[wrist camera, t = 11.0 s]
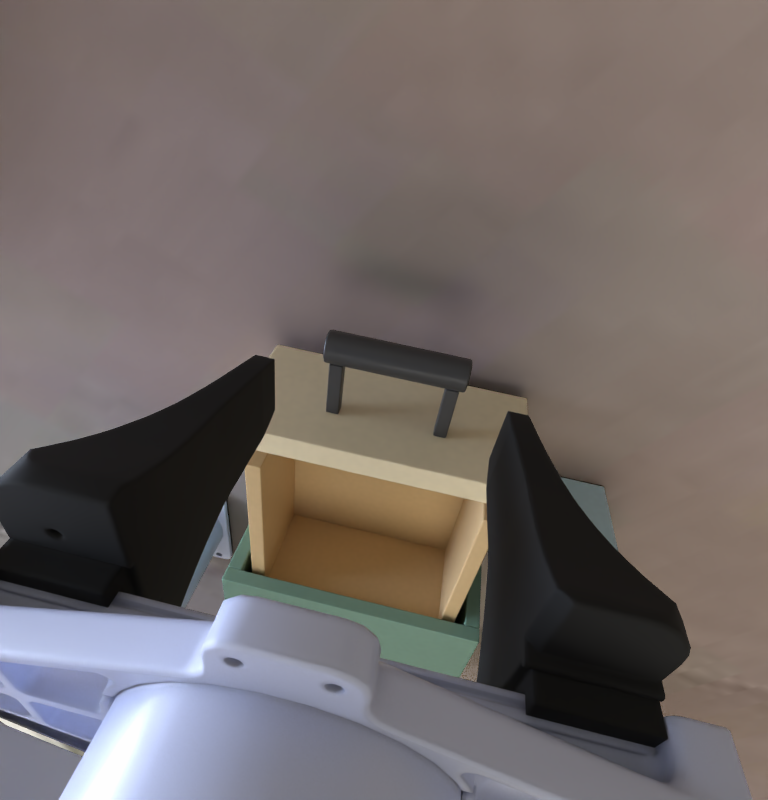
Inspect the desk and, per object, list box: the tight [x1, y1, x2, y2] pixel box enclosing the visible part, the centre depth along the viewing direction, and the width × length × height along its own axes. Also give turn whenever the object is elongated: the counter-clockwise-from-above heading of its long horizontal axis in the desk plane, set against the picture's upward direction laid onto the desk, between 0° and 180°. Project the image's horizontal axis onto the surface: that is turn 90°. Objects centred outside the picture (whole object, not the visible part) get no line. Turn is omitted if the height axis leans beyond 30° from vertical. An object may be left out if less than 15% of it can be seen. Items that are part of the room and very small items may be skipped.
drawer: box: [245, 330, 528, 623], centre depth 26 cm, size 18×13×7 cm
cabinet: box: [222, 525, 481, 678], centre depth 35 cm, size 15×15×8 cm
